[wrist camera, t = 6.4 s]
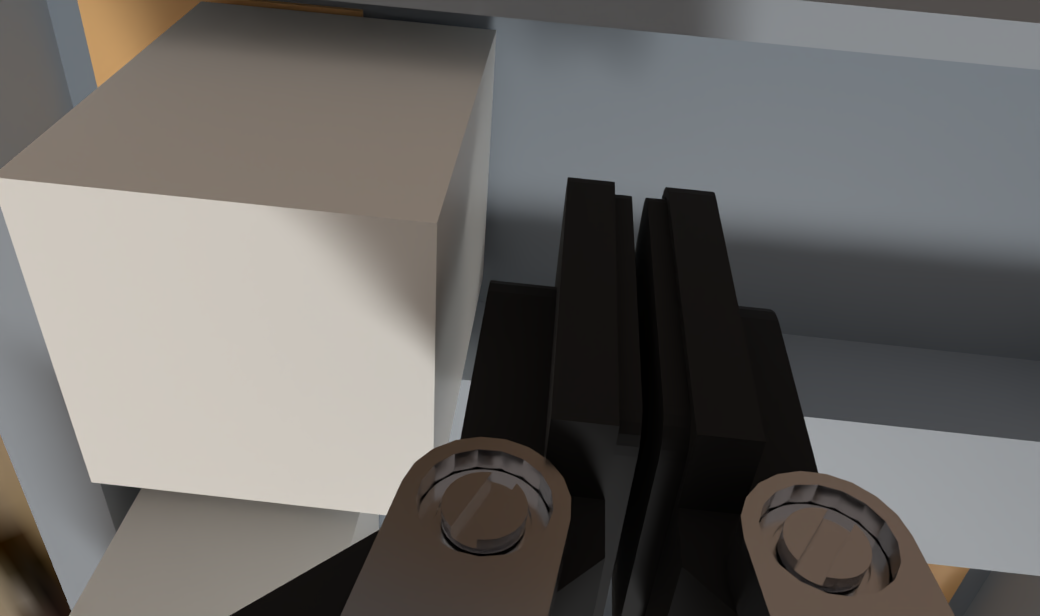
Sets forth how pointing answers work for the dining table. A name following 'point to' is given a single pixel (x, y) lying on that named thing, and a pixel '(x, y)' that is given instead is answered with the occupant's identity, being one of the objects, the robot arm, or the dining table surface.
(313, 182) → the tab
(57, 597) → the dining table surface
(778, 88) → the switch board
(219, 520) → the tab
